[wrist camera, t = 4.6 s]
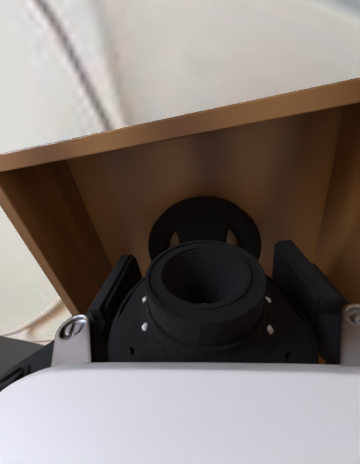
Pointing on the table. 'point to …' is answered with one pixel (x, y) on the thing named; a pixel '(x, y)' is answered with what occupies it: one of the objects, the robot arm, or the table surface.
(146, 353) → the webcam
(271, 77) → the table surface
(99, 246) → the wooden box
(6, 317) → the table surface
